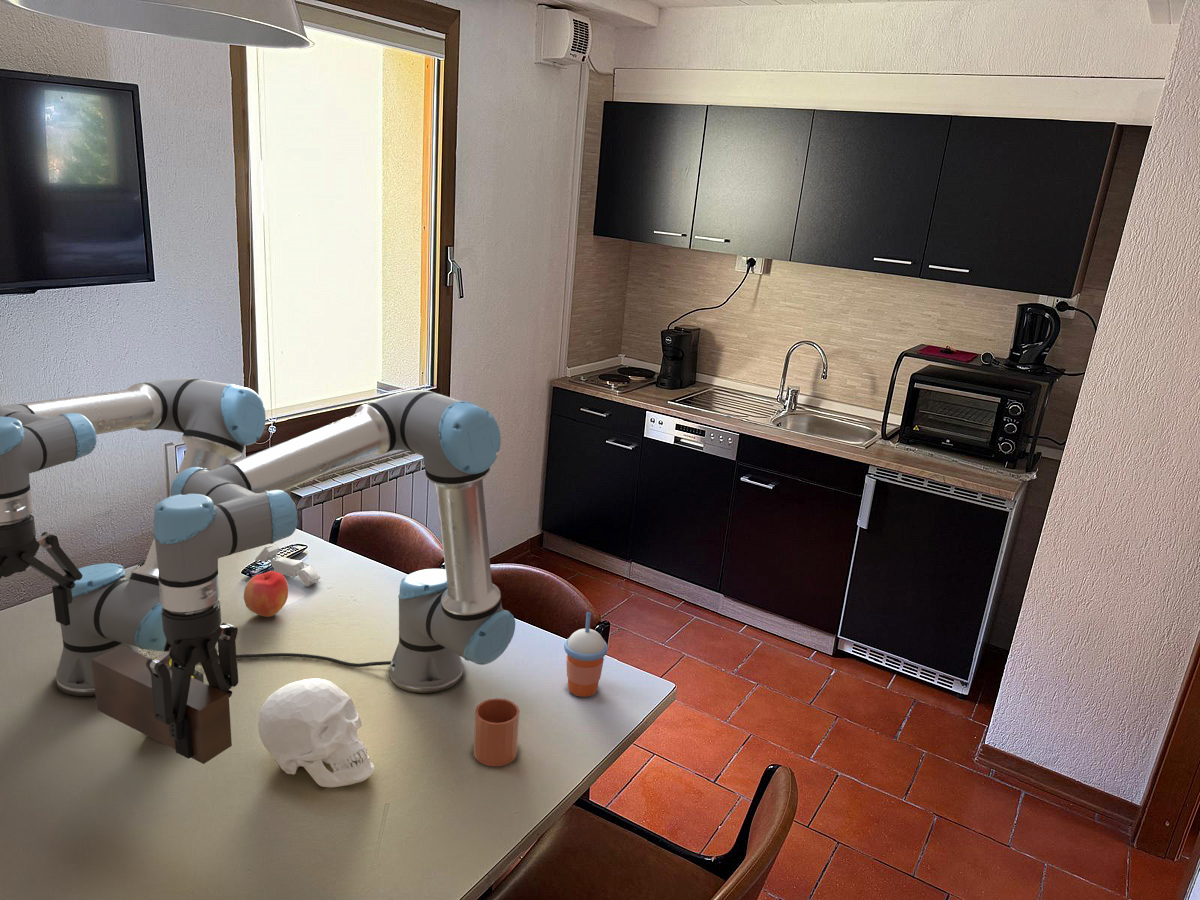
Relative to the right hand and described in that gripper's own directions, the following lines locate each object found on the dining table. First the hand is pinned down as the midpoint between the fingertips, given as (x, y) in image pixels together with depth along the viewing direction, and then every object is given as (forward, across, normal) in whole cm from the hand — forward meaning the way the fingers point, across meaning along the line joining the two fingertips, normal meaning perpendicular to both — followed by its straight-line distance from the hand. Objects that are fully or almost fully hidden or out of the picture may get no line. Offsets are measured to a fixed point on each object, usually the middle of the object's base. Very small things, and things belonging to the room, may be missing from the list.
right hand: (201, 743), depth 127 cm
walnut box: (+1, 0, +8) cm, 9 cm away
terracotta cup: (+19, +43, -24) cm, 53 cm away
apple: (+19, +56, +48) cm, 76 cm away
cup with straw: (+19, +70, -28) cm, 78 cm away
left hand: (-6, -3, +38) cm, 38 cm away
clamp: (+19, +73, +60) cm, 96 cm away
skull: (+19, +23, 0) cm, 30 cm away
